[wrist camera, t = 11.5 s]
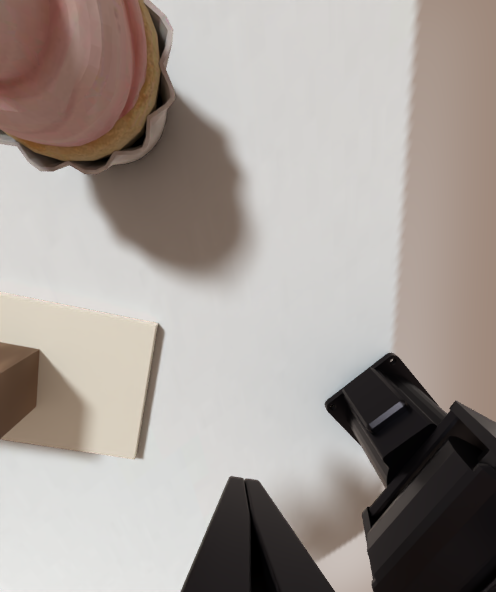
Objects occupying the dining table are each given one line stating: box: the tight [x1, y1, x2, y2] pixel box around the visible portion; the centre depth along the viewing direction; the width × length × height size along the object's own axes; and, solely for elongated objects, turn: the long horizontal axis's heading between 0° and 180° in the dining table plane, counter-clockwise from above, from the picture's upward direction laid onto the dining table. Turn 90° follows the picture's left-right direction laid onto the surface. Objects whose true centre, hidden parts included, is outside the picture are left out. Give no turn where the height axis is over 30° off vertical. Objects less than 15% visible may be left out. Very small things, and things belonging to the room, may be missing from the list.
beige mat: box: [0, 292, 158, 459], centre depth 19 cm, size 19×11×1 cm, turn 77°
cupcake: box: [0, 0, 175, 174], centre depth 11 cm, size 9×9×10 cm
